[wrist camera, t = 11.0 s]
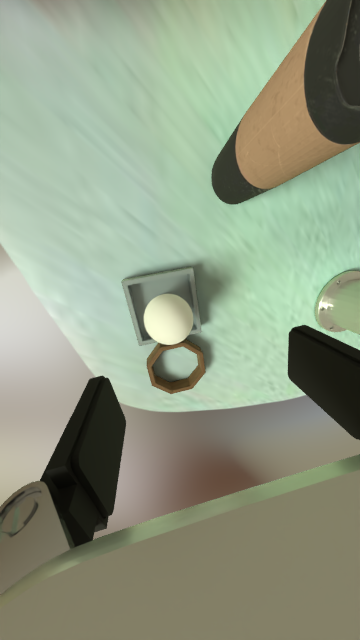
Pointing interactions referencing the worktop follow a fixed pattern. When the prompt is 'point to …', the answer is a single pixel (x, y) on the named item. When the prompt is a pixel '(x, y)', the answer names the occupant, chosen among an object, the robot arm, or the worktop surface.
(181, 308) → the light bulb
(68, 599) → the robot arm
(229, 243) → the worktop surface
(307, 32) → the travel mug
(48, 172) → the worktop surface
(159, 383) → the holder ring
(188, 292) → the tray
